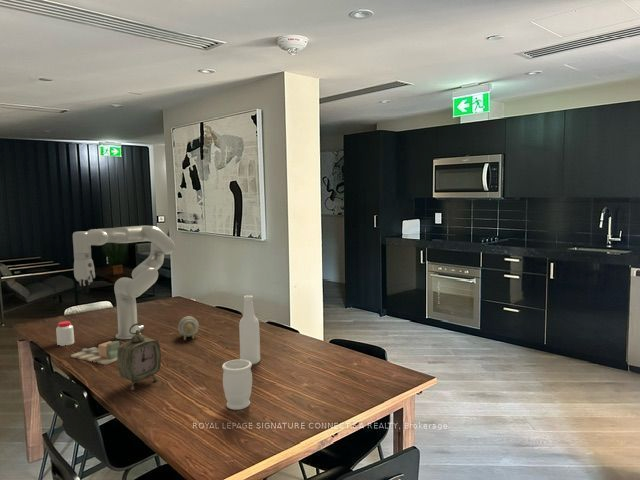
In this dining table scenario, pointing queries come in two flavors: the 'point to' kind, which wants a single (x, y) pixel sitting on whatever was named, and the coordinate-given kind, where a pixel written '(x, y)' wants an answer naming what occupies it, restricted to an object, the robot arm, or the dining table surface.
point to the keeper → (103, 349)
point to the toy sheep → (188, 326)
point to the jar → (237, 383)
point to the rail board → (94, 356)
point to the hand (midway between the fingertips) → (85, 293)
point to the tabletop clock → (138, 358)
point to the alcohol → (249, 333)
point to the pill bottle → (65, 333)
